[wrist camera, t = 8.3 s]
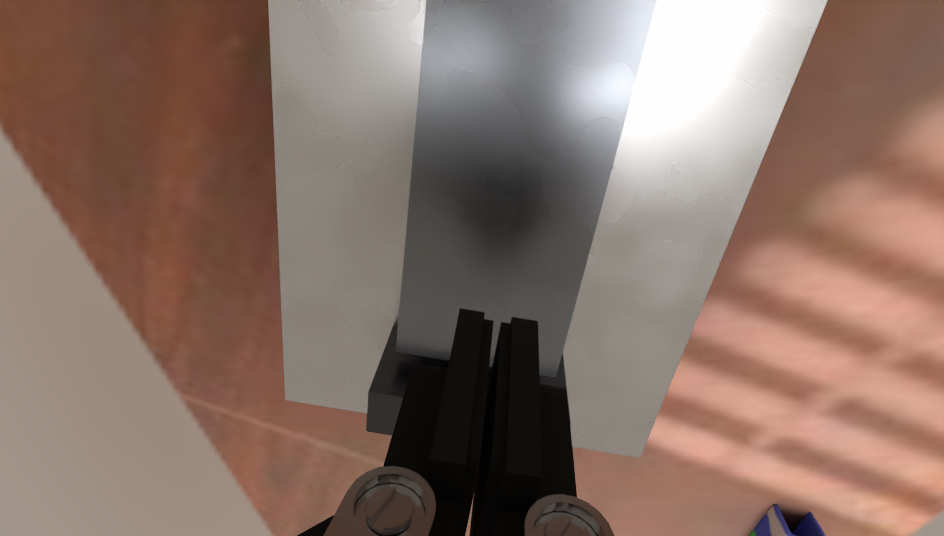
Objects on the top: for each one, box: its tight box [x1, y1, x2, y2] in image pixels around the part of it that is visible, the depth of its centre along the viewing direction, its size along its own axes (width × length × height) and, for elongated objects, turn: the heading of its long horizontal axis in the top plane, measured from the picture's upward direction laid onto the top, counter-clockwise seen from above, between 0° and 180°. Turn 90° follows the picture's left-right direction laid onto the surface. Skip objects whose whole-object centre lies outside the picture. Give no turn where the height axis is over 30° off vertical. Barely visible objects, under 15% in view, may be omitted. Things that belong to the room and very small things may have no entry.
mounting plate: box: [268, 0, 828, 458], centre depth 15 cm, size 22×14×5 cm, turn 172°
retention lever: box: [396, 0, 657, 378], centre depth 13 cm, size 16×5×1 cm, turn 172°
